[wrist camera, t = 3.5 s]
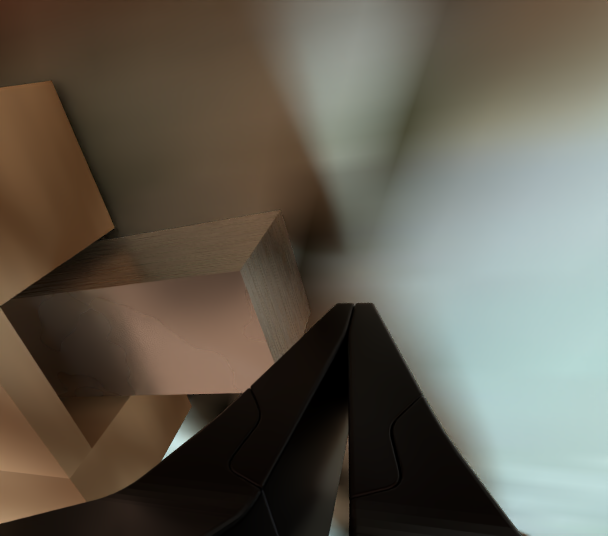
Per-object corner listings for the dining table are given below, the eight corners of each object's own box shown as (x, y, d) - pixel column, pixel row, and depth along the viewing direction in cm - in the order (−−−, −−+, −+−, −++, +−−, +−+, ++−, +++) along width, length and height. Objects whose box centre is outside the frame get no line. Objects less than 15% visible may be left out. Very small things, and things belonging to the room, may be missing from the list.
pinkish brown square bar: (282, 207, 10) (240, 270, 7) (311, 308, 12) (285, 391, 9) (-145, 281, 16) (-260, 333, 13) (-89, 344, 17) (-181, 403, 14)
